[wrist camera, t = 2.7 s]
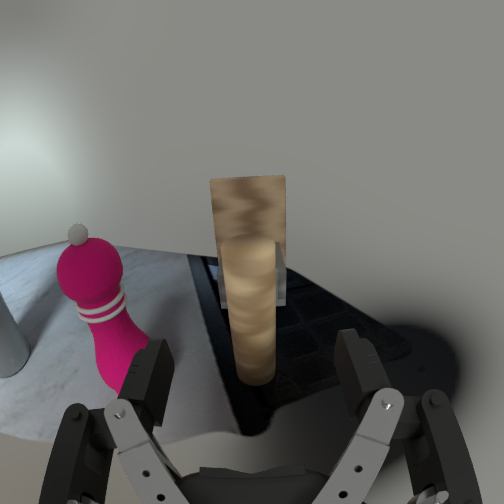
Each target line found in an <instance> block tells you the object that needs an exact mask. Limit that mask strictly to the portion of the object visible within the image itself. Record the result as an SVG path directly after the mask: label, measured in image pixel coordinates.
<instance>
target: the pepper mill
mask: <svg viewBox="0 0 504 504" xmlns="http://www.w3.org/2000/svg"><path fill="white" fill-rule="evenodd" d="M68 239H69V241H70V243H71V245H70V246H69V247H67V248H66V249H65V250H64V252H63V253H62V254H61V256H60V258H59V261H58V264H57V277H58V281H59V285H60V287H61V289H62V291H63V293H64V294H65V295H66V296H67V297H69V298H70V299H72V300H74V306H75V308H76V310H77V311H78V315H79V317H80V318H81V319H82V320H83V321H85V322H87V323H88V325H89V327H90V329H91V332H92V334H93V337H94V342H95V354H96V363H97V367H98V370H99V373H100V375H101V377H102V379H103V380H104V382H105V383H106V384H107V385H108V386H109V387H110V388H112V389H114V390H115V391H116V392H117V394H118V395H119V393H120V390H121V387H122V385H123V382H124V379H125V376H126V374H127V373H128V369H129V366H130V363H131V361H132V358H133V356H134V355H135V354H136V353H137V352H138V350H139V349H145V348H146V345H147V342H148V340H149V339H150V338H149V337H148V336H147V335H146V334H145V333H143V332H142V331H141V330H140V329H139V328H138V327H137V326H136V325H135V324H134V322H133V321H132V320H131V318H130V316H129V314H128V312H127V310H126V303H127V295H126V294H125V292H124V287H123V285H122V284H121V283H120V281H121V278H122V275H123V266H122V263H121V259H120V256H119V254H118V252H117V251H116V249H115V248H114V247H113V246H112V245H111V244H110V243H109V242H107V241H105V240H103V239H99V238H88V231H87V229H86V227H85V226H84V225H82V224H75V225H73V226H72V227H71V228H70V229H69V232H68Z"/></svg>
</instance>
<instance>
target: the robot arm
mask: <svg viewBox="0 0 504 504" xmlns="http://www.w3.org/2000/svg"><path fill="white" fill-rule="evenodd" d="M29 353H30V346H29V344H28V342H27V341H26V339H25V337H24V336H23V334H22V332H21V331H20V329H19V327H18V325H17V323H16V322H15V320H14V318H13V316H12V314H11V312H10V311H9V309H8V307H7V305H6V303H5V301H4V299H3V297H2V295H1V293H0V377H1V378H6V377H9V376H12V375H14V374H15V373H17V372H18V371H19V370H20V369H21V368H22V367H23V366H24V364H25V363H26V361H27V359H28V356H29ZM334 363H335V367H336V370H337V374H338V377H339V381H340V384H341V387H342V391H343V395H344V398H345V401H346V405H347V409H348V413H349V417H350V420H353V419H358V422H359V426H358V428H357V429H356V431H355V433H354V435H353V437H352V439H351V441H350V442H349V444H348V446H347V448H346V449H345V451H344V453H343V455H342V456H341V458H340V460H339V461H338V463H337V464H336V466H335V467H334V469H333V471H332V472H331V474H330V475H329V476H327V475H325V474H323V473H321V472H318V471H314V470H308V469H305V465H304V464H303V465H296V466H285V467H277V468H273V469H270V470H266V471H263V472H259V473H255V474H248V473H243V472H239V471H234V470H230V469H226V468H206V467H200V472H197V473H193V474H189V475H187V476H185V477H182V476H181V475H180V473H179V472H178V471H177V469H176V468H175V467H174V466H173V464H172V463H171V462H170V460H169V459H168V457H167V456H166V454H165V452H164V451H163V449H162V448H161V446H160V444H159V443H158V441H157V439H156V438H155V436H154V434H153V433H152V432H153V427H154V426H159V427H162V423H163V418H164V413H165V409H166V404H167V400H168V395H169V391H170V387H171V382H172V378H173V374H174V360H173V357H172V355H171V352H170V349H169V347H168V344H167V341H166V340H165V339H149V340H148V342H147V345H146V348H145V349H139V350H138V352H137V353H136V354H135V355H134V356H133V358H132V361H131V363H130V366H129V369H128V373H127V374H126V376H125V379H124V382H123V385H122V387H121V390H120V393H119V396H118V398H117V399H115V400H113V401H111V402H110V403H108V404H107V406H106V407H105V408H101V409H92V410H88V409H87V408H86V407H85V406H84V405H83V404H80V403H75V404H72V405H70V406H69V407H68V408H67V409H66V410H65V413H64V415H63V418H62V421H61V424H60V427H59V430H58V432H57V436H56V439H55V442H54V445H53V448H52V452H51V455H50V458H49V462H48V466H47V470H46V474H45V477H44V482H43V485H42V490H41V495H40V499H39V504H104V503H105V496H106V490H107V484H108V477H109V472H110V466H111V461H112V456H113V451H114V448H118V450H119V453H118V458H119V461H120V463H121V465H122V467H123V469H124V471H125V473H126V475H127V477H128V479H129V481H130V483H131V484H132V486H133V488H134V490H135V492H136V493H137V495H138V496H139V498H140V500H141V502H142V504H366V503H365V502H363V500H364V498H365V496H366V494H367V493H368V491H369V489H370V487H371V485H372V483H373V482H374V480H375V478H376V476H377V474H378V472H379V470H380V468H381V466H382V464H383V462H384V459H385V457H386V455H387V453H388V450H389V447H390V446H389V442H390V440H391V438H401V441H402V445H403V449H404V453H405V457H406V461H407V465H408V470H409V474H410V479H411V484H412V489H413V494H414V497H412V498H411V499H410V500H409V502H408V503H407V504H482V499H481V494H480V490H479V486H478V482H477V478H476V475H475V471H474V468H473V464H472V461H471V458H470V455H469V452H468V449H467V446H466V443H465V440H464V437H463V435H462V432H461V429H460V427H459V424H458V422H457V419H456V416H455V414H454V411H453V409H452V407H451V404H450V402H449V399H448V397H447V396H446V394H445V393H444V392H442V391H440V390H437V389H432V390H429V391H427V392H426V393H424V395H423V396H422V397H412V396H403V395H402V394H401V393H400V392H399V391H397V390H395V389H393V388H392V386H391V384H390V382H389V380H388V377H387V375H386V373H385V370H384V368H383V366H382V363H381V362H380V359H379V357H378V355H377V352H376V350H375V348H374V346H373V344H372V343H371V342H370V341H369V340H367V339H366V338H362V339H359V336H358V334H357V332H356V330H355V329H347V330H340V331H338V335H337V340H336V345H335V350H334Z"/></svg>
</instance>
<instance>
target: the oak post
mask: <svg viewBox="0 0 504 504" xmlns="http://www.w3.org/2000/svg"><path fill="white" fill-rule="evenodd" d="M221 257H222V265H223V274H224V282H225V290H226V298H227V305H228V313H229V321H230V328H231V335H232V342H233V349H234V356H235V363H236V369H237V375H238V377H239V379H240V380H241V381H242V382H243V383H245V384H247V385H251V386H260V385H264V384H266V383H268V382H269V381H271V380H272V378H273V377H274V375H275V353H276V259H275V242H274V241H273V240H272V239H271V238H269V237H267V236H263V235H258V234H244V235H238V236H234V237H231V238H229V239H227V240H225V241H224V242H223V243H222V244H221Z"/></svg>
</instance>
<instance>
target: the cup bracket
mask: <svg viewBox="0 0 504 504" xmlns="http://www.w3.org/2000/svg"><path fill="white" fill-rule="evenodd" d="M210 190H211V201H212V210H213V219H214V229H215V237H216V246H217V254H218V263H219V266H218V272H217V279H218V287H219V294H220V301H221V308H228V305H227V298H226V290H225V282H224V274H223V265H222V257H221V244H222V243H223V242H224V241H225V240H227V239H229V238H231V237H234V236H238V235H244V234H258V235H263V236H267V237H269V238H271V239H272V240H273V241H274V242H275V259H276V306H286V268H285V267H286V196H285V194H286V188H285V176H284V175H277V176H253V177H236V178H220V179H211V180H210Z"/></svg>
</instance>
